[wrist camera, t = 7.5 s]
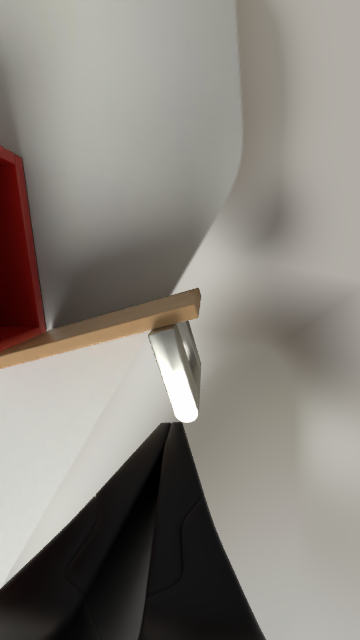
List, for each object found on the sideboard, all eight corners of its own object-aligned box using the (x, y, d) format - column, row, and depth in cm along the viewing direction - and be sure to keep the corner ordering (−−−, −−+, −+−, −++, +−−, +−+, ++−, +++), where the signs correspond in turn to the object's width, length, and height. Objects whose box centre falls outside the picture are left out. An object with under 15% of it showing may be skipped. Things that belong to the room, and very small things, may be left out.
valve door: (217, 355, 20) (224, 416, 12) (75, 387, 22) (6, 454, 15) (198, 287, 18) (193, 306, 11) (50, 329, 21) (-42, 369, 13)
